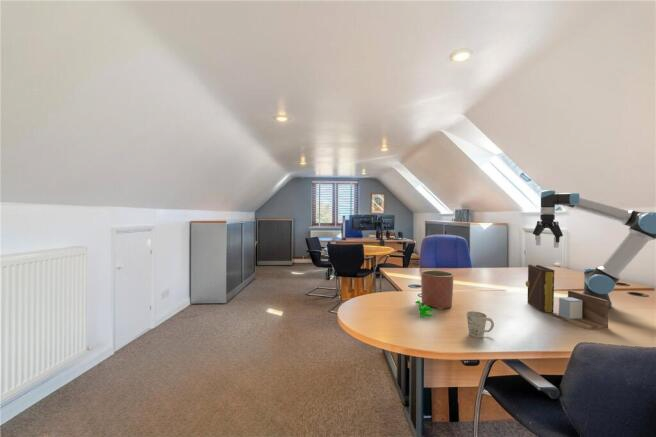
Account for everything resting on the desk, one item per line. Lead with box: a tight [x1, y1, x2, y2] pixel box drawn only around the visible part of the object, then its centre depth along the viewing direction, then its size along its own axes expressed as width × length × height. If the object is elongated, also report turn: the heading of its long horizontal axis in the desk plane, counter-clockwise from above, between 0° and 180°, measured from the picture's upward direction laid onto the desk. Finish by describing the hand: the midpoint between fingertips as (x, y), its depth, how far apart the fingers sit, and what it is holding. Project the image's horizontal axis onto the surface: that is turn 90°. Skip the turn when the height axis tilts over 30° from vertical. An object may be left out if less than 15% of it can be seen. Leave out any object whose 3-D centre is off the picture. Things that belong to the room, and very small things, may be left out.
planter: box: [420, 269, 455, 310], centre depth 183 cm, size 19×19×20 cm
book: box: [525, 264, 555, 314], centre depth 180 cm, size 22×8×25 cm, turn 168°
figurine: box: [414, 299, 436, 318], centre depth 162 cm, size 6×12×9 cm, turn 98°
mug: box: [466, 310, 495, 339], centre depth 137 cm, size 8×13×10 cm, turn 95°
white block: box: [558, 296, 583, 319], centre depth 159 cm, size 8×6×10 cm
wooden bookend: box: [551, 289, 610, 330], centre depth 156 cm, size 12×20×14 cm, turn 7°
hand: (546, 246), depth 191 cm, fingers open, 13 cm apart
